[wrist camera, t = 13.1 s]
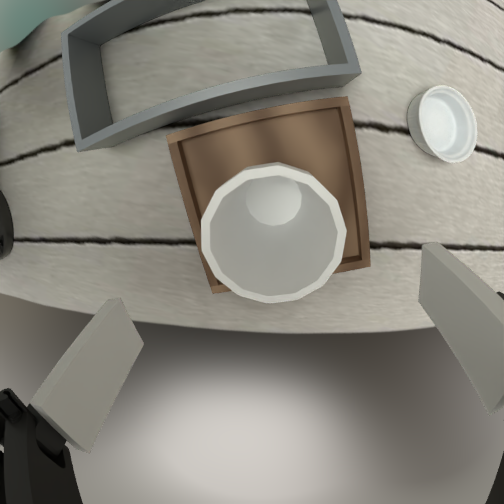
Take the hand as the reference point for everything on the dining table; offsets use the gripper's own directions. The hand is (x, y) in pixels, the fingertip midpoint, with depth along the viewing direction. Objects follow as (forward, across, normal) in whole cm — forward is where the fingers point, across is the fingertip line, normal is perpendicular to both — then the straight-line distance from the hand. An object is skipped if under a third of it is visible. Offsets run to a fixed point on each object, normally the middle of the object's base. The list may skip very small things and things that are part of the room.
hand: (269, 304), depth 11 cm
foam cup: (+20, 0, 0) cm, 21 cm away
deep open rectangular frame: (+21, -4, +19) cm, 29 cm away
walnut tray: (+21, 0, 0) cm, 21 cm away
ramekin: (+21, +21, +6) cm, 31 cm away
